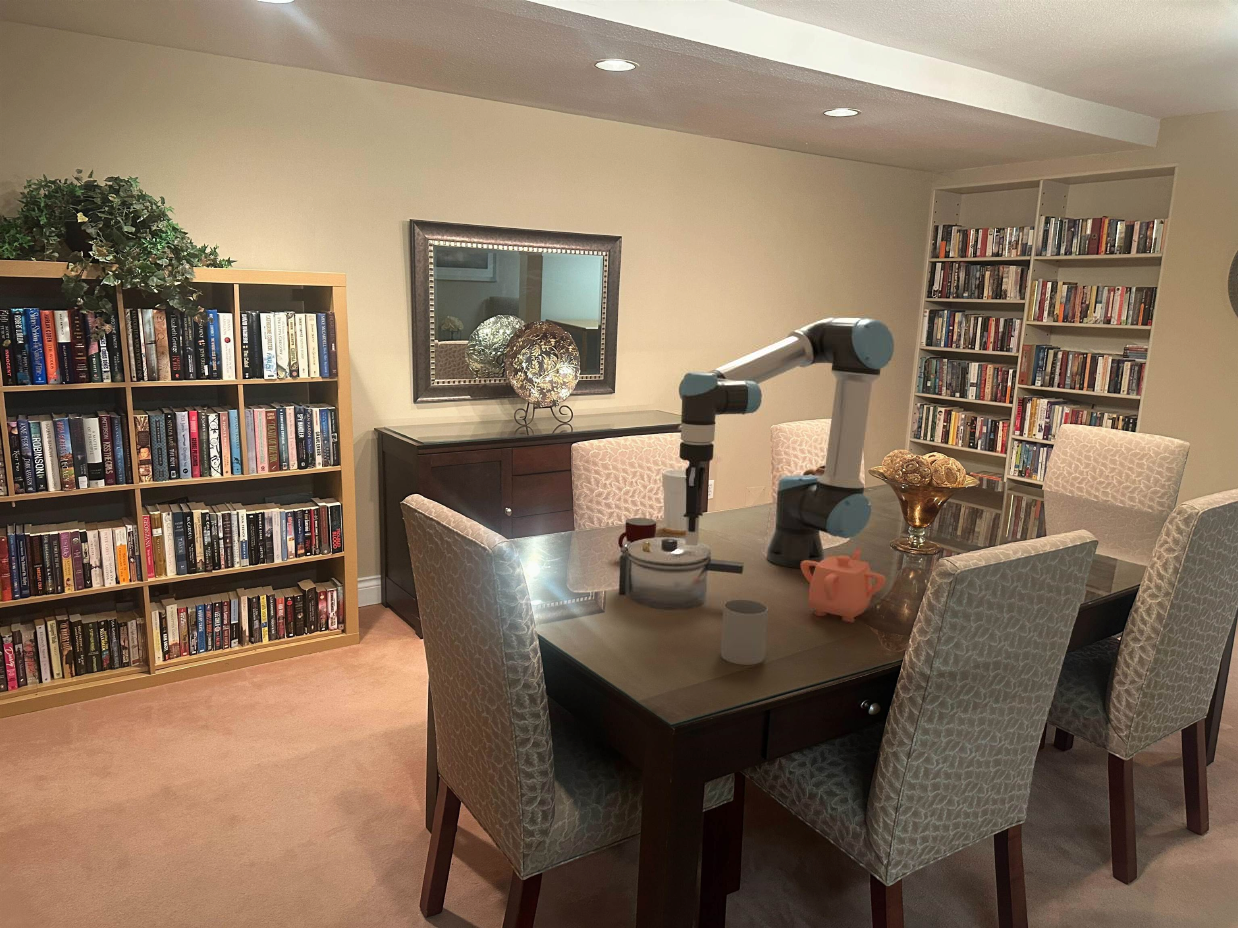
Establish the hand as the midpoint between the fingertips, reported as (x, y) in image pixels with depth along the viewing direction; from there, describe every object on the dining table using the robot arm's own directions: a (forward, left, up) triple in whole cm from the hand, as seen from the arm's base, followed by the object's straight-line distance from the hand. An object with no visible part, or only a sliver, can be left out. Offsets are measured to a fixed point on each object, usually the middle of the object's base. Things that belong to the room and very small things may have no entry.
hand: (691, 544), depth 199 cm
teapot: (-34, -2, -13) cm, 36 cm away
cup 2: (-15, +30, -13) cm, 36 cm away
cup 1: (+12, -61, -13) cm, 64 cm away
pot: (+2, 0, -13) cm, 13 cm away
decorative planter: (-32, -111, -13) cm, 116 cm away
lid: (+6, 0, -3) cm, 6 cm away
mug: (+18, -27, -13) cm, 35 cm away
